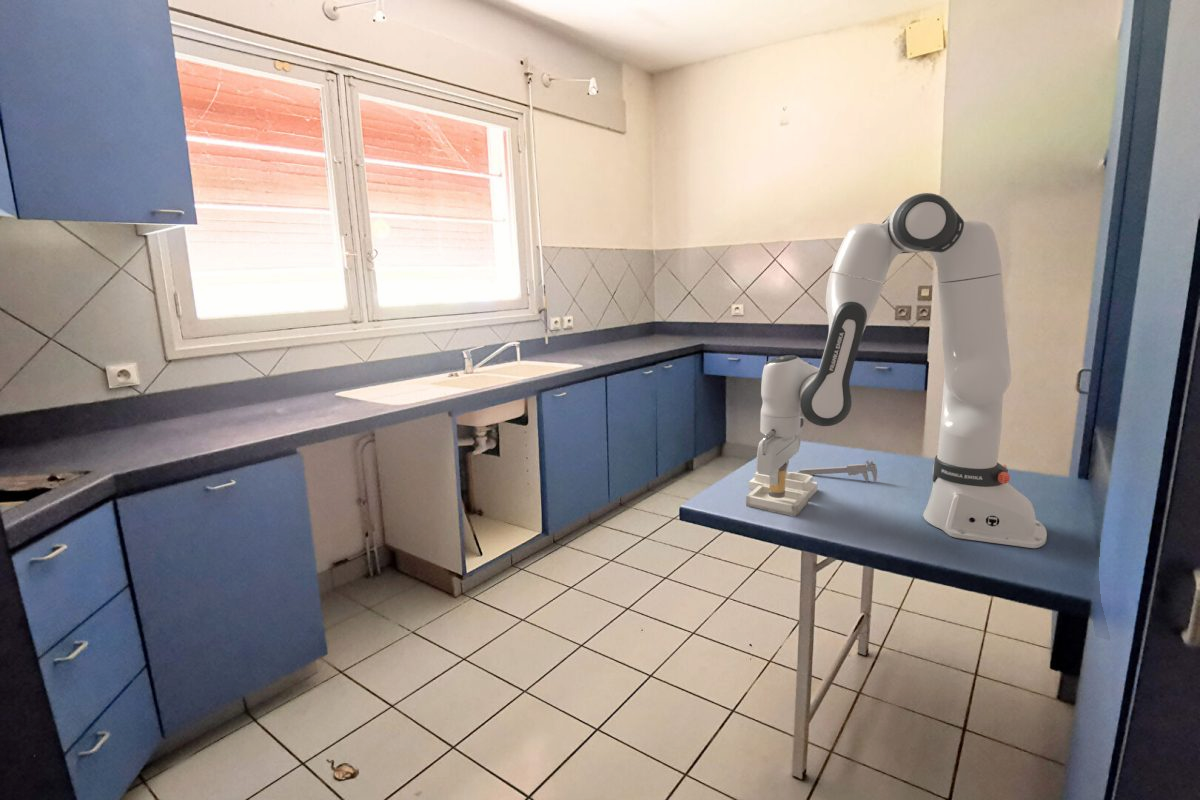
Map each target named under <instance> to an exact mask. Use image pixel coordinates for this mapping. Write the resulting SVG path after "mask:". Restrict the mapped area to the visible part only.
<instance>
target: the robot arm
mask: <svg viewBox="0 0 1200 800" xmlns="http://www.w3.org/2000/svg"><path fill="white" fill-rule="evenodd" d="M923 252H927V253H929V254H930V255H931V256H932V258H933V260H934V261H935V265H936V268H937V282H938V283H937V285H938V286H937V288H938V298H939V310H940V311H939V312H940V322H941V323H940V325H941V335H942V338H941V339H942V350H943V361H944V362H943V363H944V379H943V389H942V401H941V412H940V413H941V414H940V423H939V432H938V433H939V435H938V443H937V445H938V446H937V454H936V456H935V457H934V460H933V466H932V475H931V476H932V482H933V483H932V489H931V492H930V496H929V498H928V502H927V504H926V507H925V509H924V511H923V513H922V517H923V518H924V520H925V521H926V522H927V523H928V524H929V525H932V526H933V527H936V528H938V529H940V530H942V531H943V532H944V533H946V534H947V535H948V536H949V537H951V538H952V537H953V538H956V539H963V540H969V541H978V542H985V543H992V544H999V545H1007V546H1012V547H1013V546H1014V547H1021V548H1028V549H1037V548H1040V547H1043V546H1044V545H1045V544H1046V543H1047V537H1048V535H1047V534H1048V532H1047V529H1046V527H1045V526H1044V524H1043V523H1041V521H1038V520H1037V519H1036V513H1035V509H1034V506H1033V504H1032V502H1031V501H1030V500H1029V499H1028V498H1027V497H1026V496H1025V495H1023V493H1021V492H1020V491H1019V490H1017V489H1016V488H1015V487H1013V485H1011V484H1009V482H1010V477H1011V476H1010V474H1009V469H1008V468H1007V466H1006V464H1003V465H1002V464H1001V463H999V461H998V459H999V451H1000V443H1001V435H1002V426H1003V425H1002V423H1003V421H1002V419H1003V401H1004V400H1003V399H1004V395H1005V393H1006V392H1007V390H1008V389H1009V387H1010V384H1011V381H1012V369H1011V361H1010V359H1011V358H1010V351H1009V350H1010V349H1009V339H1008V330H1007V323H1006V313H1005V301H1004V285H1003V282H1004V281H1003V270H1002V261H1001V255H1000V249H999V246H998V242H997V238H996V235H995V232H994V229H993V227H991V226H990V224H988V223H985V222H983V221H978V220H967V221H964V219H963V217H962V216H960V214H959V213H958V212H957V211H956V209H955V208H954V207H953V205H952V204H951V203H950V201H948V200H947V199H946V198H944V197H942V196H940V195H939V194H936V193H933V192H931V193H930V192H924V193H923V192H922V193H918V194H915V195H913V196H910V197H909V198H906V199H905V200H903V201H902V202H900V203H899V204H898V205H897V206H896V207H895V208H894V210H893V211H892V212H891V213H890V214H889V216H887V218H885V219H884V220H883V222H882V223H879V224H878V223H870V222H867V223H861V224H860V223H859V224H856V225H854V226H852V227H851V228H849V230H847V232H846V234H845V236H844V238H843V240H842V242H841V244H840V246H839V248H838V250H837V253H836V255H835V258H834V260H833V264H832V267H831V270H830V273H829V275H828V276H829V277H828V280H827V285H826V291H825V310H826V314H827V319H828V320H827V321H828V334H827V339H826V344H825V347H824V350H823V354H822V357H821V361H820V364H819V367H817V366H815V365H812V364H810V363H808V362H806V361H805V360H803V359H802V358H800V357H799V356H798V355H794V354H791V355H790V354H789V355H788V354H786V355H785V354H784V355H779V356H775V357H773V358H770V359H768V361H767V362H766V363H765V364H764V366H763V369H762V375H761V383H760V384H761V386H760V387H761V388H760V389H761V390H760V397H761V399H762V404H761V408H760V421H759V422H760V424H759V425H760V426H759V427H760V430H759V432H760V433H761V434H763V435H764V436H763V438H762V439H761V440H760V441H759V443H758V446H757V452H756V454H757V455H756V463H755V465H756V467H755V469H756V472H758V473H760V474H765V475H769V477H770V484H771V485H777V484H778V483H779V477H778V471H779V468H780V467H781V466H783V465H784V464H785V463H786V464H787V466H786V472H788V471H787V470H788V467H789V464H790V460H791V459H792V458H793V457H794V456H795V455H797V454H798V453H799V450H800V447H801V442H802V433H803V432H802V430H803V429H802V428H803V426H804V425H805V419H806V420H807V421H808V422H809V423H812V424H814V425H816V426H820V427H830V426H831V427H832V426H835V425H837V424H840V423H841V422H843V421H844V420H845V419H846V417H848V415H849V414H850V411H851V409H852V393H851V390H850V389H851V388H850V387H851V386H850V382H851V381H850V380H851V375H852V373H853V372H852V371H853V368H854V365H855V361H856V357H857V354H858V350H859V347H860V344H861V340H862V337H863V335H864V331H865V329H866V327H867V325H868V323H869V321H870V319H871V315H872V314H873V312H874V310H875V307H877V303H878V300H879V299H880V296H881V293H882V291H883V288H884V285H885V282H886V279H887V275H888V272H889V269H890V267H891V265H892V263H893V262H894V260H895V259H896V258H897V256H899V255H900V254H913V253H915V254H916V253H923ZM801 413H802V416H801Z"/></svg>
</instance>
